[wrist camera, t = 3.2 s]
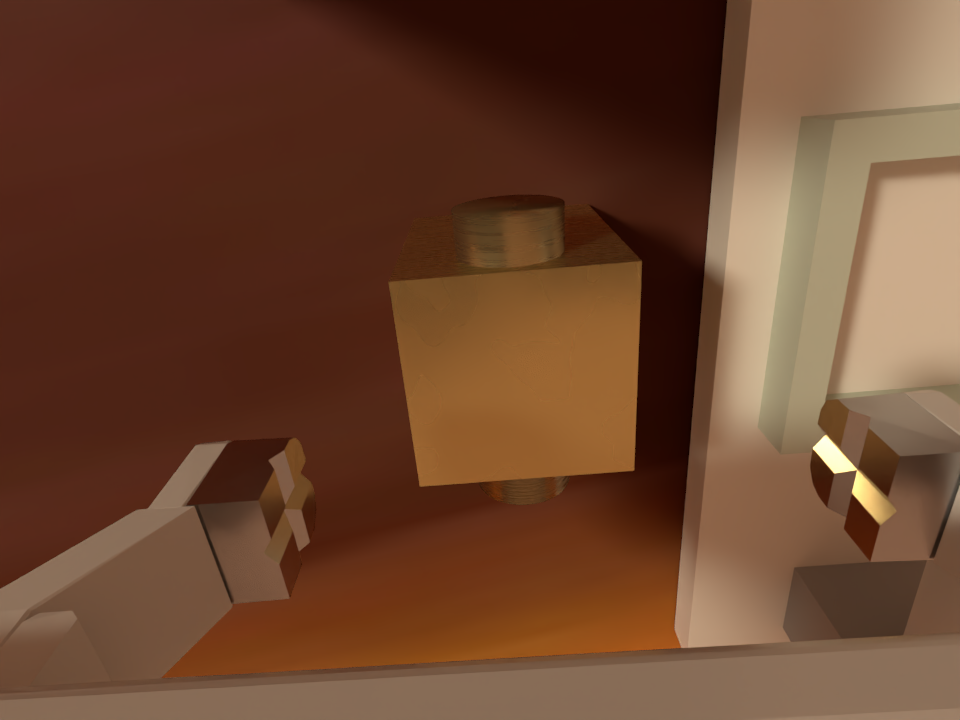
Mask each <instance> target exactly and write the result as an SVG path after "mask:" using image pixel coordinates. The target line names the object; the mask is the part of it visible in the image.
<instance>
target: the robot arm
mask: <svg viewBox="0 0 960 720" xmlns="http://www.w3.org/2000/svg"><path fill="white" fill-rule="evenodd" d="M818 425H819V427H820V428H821V430H822V431H823V432H824V434H825V436H824V437H823V438H822V439H821V440H820V441H819V442H818V443H817V444H816V445H815V446H814V447H813V449H812V456H811V462H810V470H811V476H812V483H813V485H814V488H815V490H816V492H817V494H818V496H819V498H820V499H821V500H822V502H823V503H824V504H825V506H826V507H827V508H828V509H830V510H832V511H834V512H836V513H838V514H840V515H842V516H844V517H846V520H845V524H844V530H845V531H846V532H847V534H848V535H849V536H850V537H851V539H852V540H853V541H854V542H855V544H856V545H857V546H858V547H859V549H860V550H861V551H862V552H863V554H864V555H865V556H866V557H867V559H868V560H869V561H870V562H887V561H915V560H934V561H933V563H934V564H936V565H938V566H939V567H941V568H942V569H944V570H946V571H947V572H949V573H951V574H952V575H954V576H955V577H957V578H959V579H960V405H959V404H958V403H956V402H955V401H953V400H952V399H951V398H949V397H948V396H946V395H945V394H943V393H942V392H938V391H934V390H920V391H911V392H902V393H895V394H885V395H874V396H864V397H853V398H843V399H833V400H826V402H825V403H824V405H823V407H822V408H821V410H820V415H819V420H818ZM305 461H306V459H305V456H304V453H303V450H302V446H301V443H300V442H299V441H298V440H297V439H296V438H276V439H256V440H237V441H219V442H208V443H202V444H198V445H196V446H195V447H194V448H193V449H192V451H191V452H190V453H189V455H188V456H187V457H186V459H185V460H184V461H183V463H182V464H181V465H180V467H179V468H178V469H177V471H176V472H175V473H174V475H173V476H172V477H171V479H170V480H169V481H168V483H167V484H166V485H165V487H164V488H163V489H162V491H161V492H160V493H159V495H158V496H157V497H156V499H155V500H154V501H153V503H152V504H151V505H150V507H149V508H148V509H142V510H136V511H134V512H133V513H131V514H129V515H127V516H126V517H124V518H122V519H120V520H119V521H117V522H115V523H114V524H112V525H110V526H108V527H107V528H105V529H103V530H102V531H100V532H98V533H96V534H95V535H93V536H91V537H89V538H88V539H86V540H84V541H83V542H81V543H79V544H77V545H76V546H74V547H72V548H70V549H69V550H67V551H65V552H64V553H62V554H60V555H58V556H57V557H55V558H53V559H52V560H50V561H48V562H46V563H45V564H43V565H41V566H39V567H38V568H36V569H34V570H33V571H31V572H29V573H27V574H26V575H24V576H22V577H20V578H19V579H17V580H15V581H14V582H12V583H10V584H8V585H7V586H5V587H3V588H1V589H0V720H960V632H951V633H934V634H917V635H900V636H883V637H865V638H848V639H831V640H814V641H797V642H780V643H762V644H745V645H727V646H710V647H692V648H675V649H657V650H640V651H622V652H605V653H587V654H570V655H552V656H535V657H518V658H501V659H485V660H468V661H452V662H435V663H419V664H402V665H385V666H369V667H352V668H336V669H319V670H302V671H286V672H269V673H251V674H232V675H214V676H195V677H177V678H161V677H162V676H163V675H164V674H165V673H166V672H167V671H168V670H169V669H170V668H171V667H172V666H173V665H174V664H175V663H177V662H178V661H179V660H180V659H181V658H182V657H183V656H184V655H185V654H186V653H187V652H188V651H189V650H190V649H191V648H192V647H193V646H194V645H195V644H196V643H197V642H198V641H199V640H200V639H201V638H202V637H203V636H204V635H205V634H206V633H207V632H208V631H209V630H210V629H211V628H212V627H213V626H214V625H215V624H216V623H217V622H218V621H219V620H220V619H221V618H222V617H223V616H224V615H225V614H226V613H227V612H228V611H229V610H230V609H231V608H232V604H236V603H247V602H257V601H268V600H279V599H290V597H291V594H292V591H293V588H294V585H295V583H296V580H297V577H298V574H299V572H300V569H301V566H302V561H301V558H300V554H299V551H300V550H301V549H302V548H303V547H305V546H306V545H307V544H308V543H309V542H310V540H311V537H312V534H313V531H314V528H315V518H316V502H315V494H314V490H313V486H312V483H311V482H310V481H309V480H308V479H306V478H305V477H304V476H303V475H302V474H301V473H300V472H301V470H302V468H303V465H304V463H305Z"/></svg>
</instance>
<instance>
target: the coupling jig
mask: <svg viewBox="0 0 960 720" xmlns="http://www.w3.org/2000/svg"><path fill="white" fill-rule="evenodd" d="M920 390H934V391H938V392H942V393H943V394H945V395H946V396H948V397H949V398H951V399H952V400H953V401H955V402H956V403H958V404H959V405H960V0H727V9H726V21H725V33H724V45H723V57H722V69H721V81H720V93H719V105H718V116H717V128H716V140H715V152H714V164H713V176H712V188H711V200H710V212H709V223H708V235H707V247H706V259H705V271H704V283H703V295H702V307H701V319H700V330H699V342H698V354H697V366H696V378H695V390H694V402H693V414H692V426H691V438H690V449H689V461H688V473H687V485H686V497H685V509H684V521H683V533H682V545H681V556H680V568H679V580H678V592H677V604H676V616H675V628H674V629H675V632H676V634H677V637H678V640H679V642H680V645H681V648H692V647H710V646H727V645H745V644H762V643H780V642H797V641H814V640H831V639H848V638H865V637H883V636H900V635H917V634H934V633H951V632H960V579H959V578H957V577H955V576H954V575H952V574H951V573H949V572H947V571H946V570H944V569H942V568H941V567H939V566H938V565H936V564H934V563H933V561H934V560H915V561H887V562H870V561H869V560H868V559H867V557H866V556H865V555H864V554H863V552H862V551H861V550H860V549H859V547H858V546H857V545H856V544H855V542H854V541H853V540H852V539H851V537H850V536H849V535H848V534H847V532H846V531H845V530H844V524H845V520H846V517H844V516H842V515H840V514H838V513H836V512H834V511H832V510H830V509H828V508H827V507H826V506H825V504H824V503H823V502H822V500H821V499H820V498H819V496H818V494H817V492H816V490H815V488H814V485H813V483H812V476H811V470H810V462H811V456H812V449H813V447H814V446H815V445H816V444H817V443H818V442H819V441H820V440H821V439H822V438H823V437H824V436H825V434H824V432H823V431H822V430H821V428H820V427H819V425H818V420H819V415H820V410H821V408H822V407H823V405H824V403H825V402H826V400H833V399H843V398H853V397H864V396H874V395H885V394H895V393H902V392H911V391H920Z"/></svg>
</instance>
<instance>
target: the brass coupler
mask: <svg viewBox="0 0 960 720" xmlns="http://www.w3.org/2000/svg"><path fill="white" fill-rule="evenodd" d="M451 212H452V215H450V216H438V217H427V218H415V219H414V221H413V224H412V226H411V229H410V231H409V234H408V236H407V238H406V241H405V243H404V246H403V248H402V251H401V253H400V255H399V258H398V260H397V263H396V265H395V268H394V270H393V273H392V275H391V277H390V280H389V287H390V294H391V300H392V307H393V313H394V320H395V327H396V333H397V340H398V346H399V353H400V359H401V366H402V372H403V379H404V386H405V392H406V399H407V405H408V412H409V418H410V425H411V432H412V438H413V445H414V451H415V458H416V464H417V471H418V477H419V484H420V487H421V486H434V485H448V484H461V483H475V482H479V485H480V487H481V488H482V490H483V491H484V492H485V493H486V494H487V495H489V496H490V497H492V498H494V499H496V500H498V501H501V502H504V503H509V504H517V505H528V504H535V503H540V502H543V501H546V500H549V499H551V498H553V497H555V496H557V495H558V494H559V493H561V492H562V491H563V490H564V489H565V487H566V486H567V484H568V482H569V478H570V475H583V474H596V473H610V472H623V471H634V463H635V436H636V410H637V383H638V356H639V330H640V303H641V276H642V261H641V259H640V258H639V257H638V256H637V255H636V254H635V253H634V252H633V251H632V250H631V249H630V248H629V247H628V246H627V245H626V244H625V243H624V242H623V241H622V239H621V238H620V237H619V236H618V235H617V234H616V233H615V232H614V231H613V230H612V229H611V228H610V227H609V226H608V225H607V224H606V223H605V222H604V220H603V219H602V218H601V217H600V216H599V215H598V214H597V213H596V212H595V211H594V210H593V209H592V208H591V207H590V206H589V205H588V204H581V205H569V206H565V204H564V201H563V200H562V199H560V198H557V197H553V196H545V195H508V196H497V197H489V198H483V199H477V200H473V201H468V202H465V203H462V204H459V205H457V206H455V207H453V208H452V210H451Z"/></svg>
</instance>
